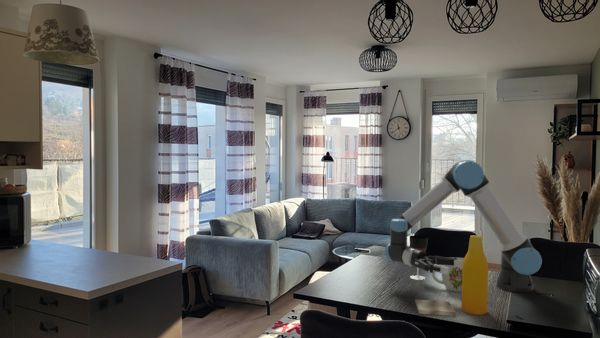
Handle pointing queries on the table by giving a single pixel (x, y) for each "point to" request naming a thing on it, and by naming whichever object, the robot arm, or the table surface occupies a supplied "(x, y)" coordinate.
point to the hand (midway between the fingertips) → (458, 268)
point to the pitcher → (451, 277)
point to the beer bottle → (475, 278)
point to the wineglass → (418, 244)
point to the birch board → (434, 307)
